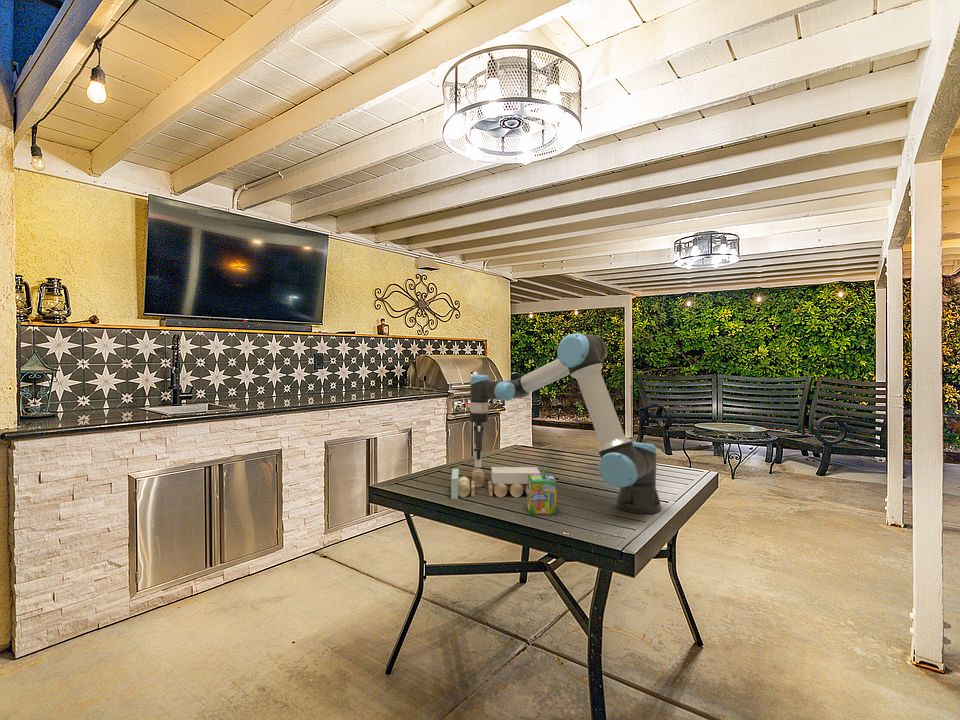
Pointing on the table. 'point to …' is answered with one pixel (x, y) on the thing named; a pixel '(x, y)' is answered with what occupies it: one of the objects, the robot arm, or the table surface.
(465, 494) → the roller bed
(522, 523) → the table surface
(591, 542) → the table surface
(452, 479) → the board
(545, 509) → the chalk box
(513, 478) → the slab
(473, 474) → the roller
